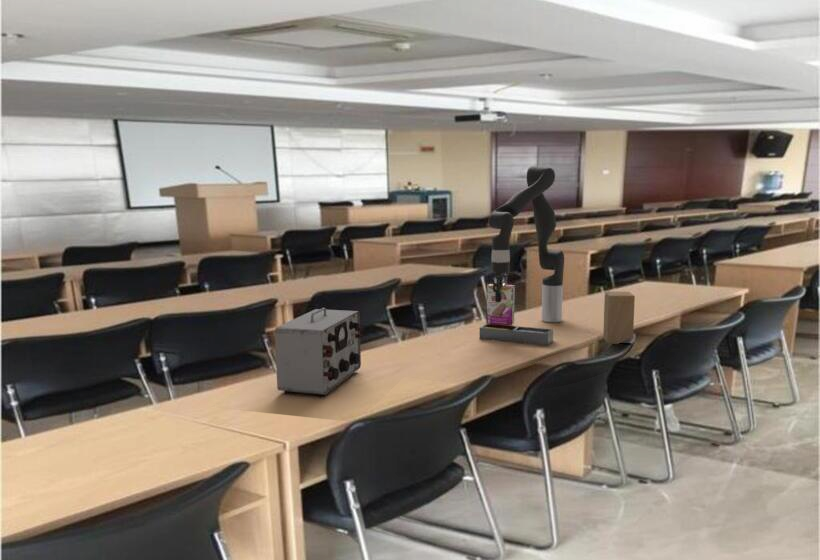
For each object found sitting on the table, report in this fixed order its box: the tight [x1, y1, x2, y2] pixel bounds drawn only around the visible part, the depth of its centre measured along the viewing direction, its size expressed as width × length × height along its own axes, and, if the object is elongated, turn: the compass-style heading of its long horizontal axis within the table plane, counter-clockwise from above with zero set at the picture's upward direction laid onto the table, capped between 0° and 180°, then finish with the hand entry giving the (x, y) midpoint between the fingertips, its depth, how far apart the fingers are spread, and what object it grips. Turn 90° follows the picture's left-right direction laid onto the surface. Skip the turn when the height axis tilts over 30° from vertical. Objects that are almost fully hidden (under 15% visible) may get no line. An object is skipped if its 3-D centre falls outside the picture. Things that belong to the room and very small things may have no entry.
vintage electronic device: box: [274, 307, 364, 398], centre depth 222 cm, size 32×18×25 cm, turn 163°
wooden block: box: [602, 291, 635, 345], centre depth 272 cm, size 10×10×20 cm
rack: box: [479, 323, 554, 347], centre depth 277 cm, size 8×29×5 cm, turn 65°
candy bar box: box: [485, 283, 516, 325], centre depth 278 cm, size 11×5×16 cm, turn 71°
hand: (500, 300), depth 278 cm, fingers closed on candy bar box, 5 cm apart
